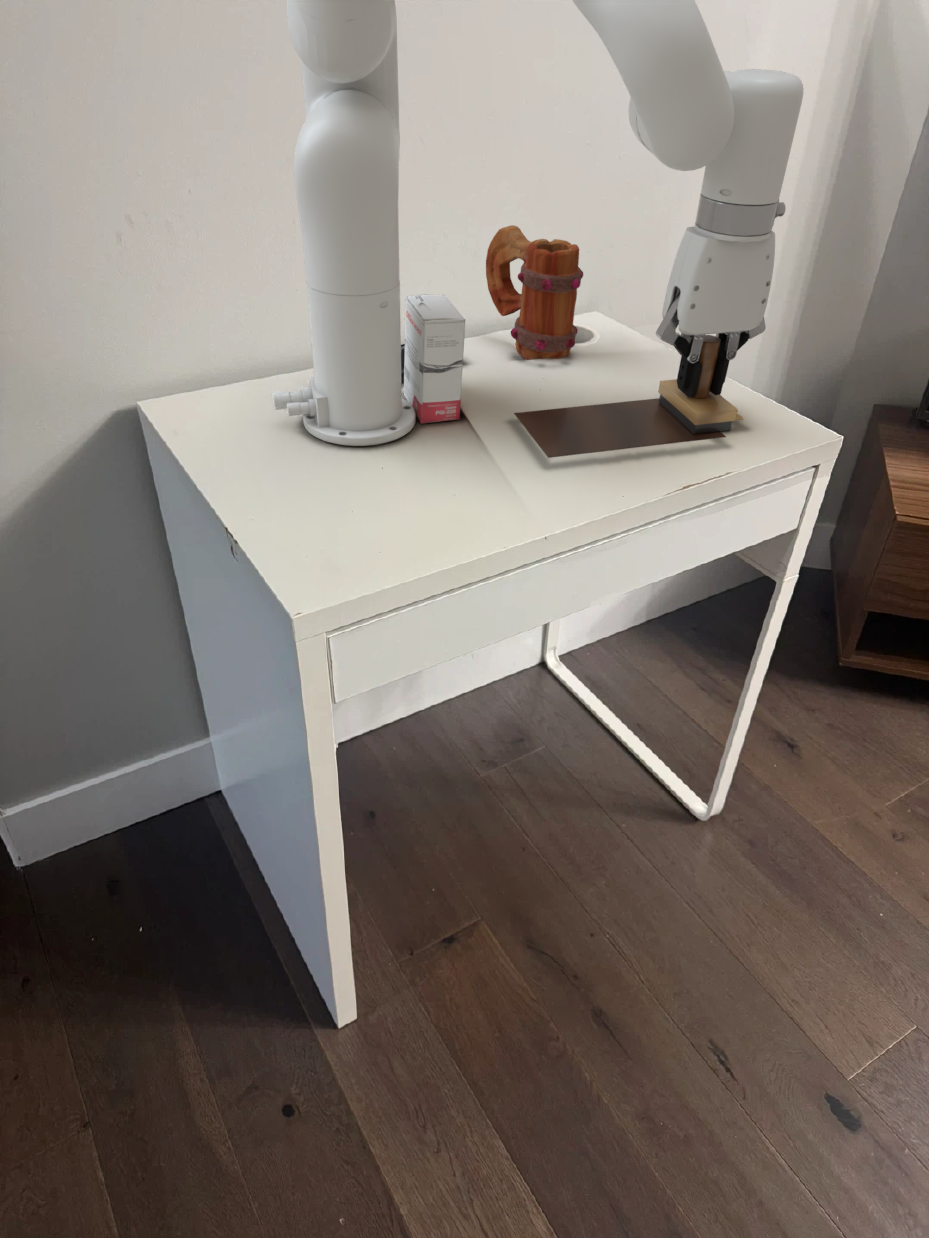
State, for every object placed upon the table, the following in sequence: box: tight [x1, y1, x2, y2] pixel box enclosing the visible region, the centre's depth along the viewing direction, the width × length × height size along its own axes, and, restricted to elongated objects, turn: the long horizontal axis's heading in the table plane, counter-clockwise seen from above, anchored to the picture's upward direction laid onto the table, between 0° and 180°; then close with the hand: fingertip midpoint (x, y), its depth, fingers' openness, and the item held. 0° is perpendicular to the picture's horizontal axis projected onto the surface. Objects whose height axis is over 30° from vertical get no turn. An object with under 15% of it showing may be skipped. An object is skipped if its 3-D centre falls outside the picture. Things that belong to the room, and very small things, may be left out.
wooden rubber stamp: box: [657, 334, 739, 434], centre depth 98 cm, size 5×9×9 cm, turn 17°
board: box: [514, 397, 727, 459], centre depth 99 cm, size 21×11×1 cm, turn 107°
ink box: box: [403, 293, 466, 424], centre depth 99 cm, size 9×5×12 cm, turn 17°
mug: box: [485, 225, 584, 361], centre depth 113 cm, size 15×8×15 cm, turn 46°
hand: (698, 390), depth 99 cm, fingers closed on wooden rubber stamp, 2 cm apart
